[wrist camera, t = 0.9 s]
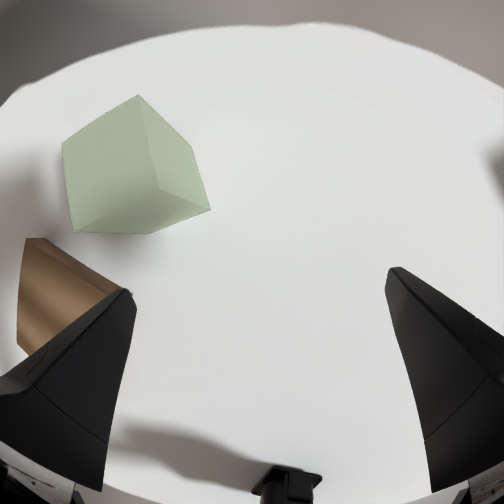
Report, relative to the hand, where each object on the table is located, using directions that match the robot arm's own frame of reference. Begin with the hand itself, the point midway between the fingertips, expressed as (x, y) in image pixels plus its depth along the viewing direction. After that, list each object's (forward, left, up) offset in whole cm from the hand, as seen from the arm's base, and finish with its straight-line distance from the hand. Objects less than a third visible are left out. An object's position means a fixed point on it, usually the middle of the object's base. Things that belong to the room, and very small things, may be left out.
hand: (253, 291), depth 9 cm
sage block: (+2, +10, -13) cm, 17 cm away
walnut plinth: (-15, +17, -13) cm, 26 cm away
